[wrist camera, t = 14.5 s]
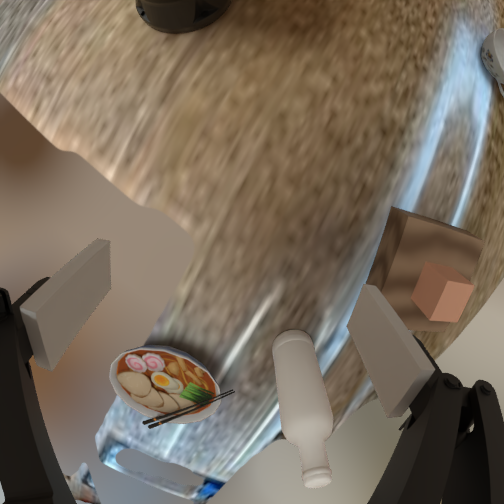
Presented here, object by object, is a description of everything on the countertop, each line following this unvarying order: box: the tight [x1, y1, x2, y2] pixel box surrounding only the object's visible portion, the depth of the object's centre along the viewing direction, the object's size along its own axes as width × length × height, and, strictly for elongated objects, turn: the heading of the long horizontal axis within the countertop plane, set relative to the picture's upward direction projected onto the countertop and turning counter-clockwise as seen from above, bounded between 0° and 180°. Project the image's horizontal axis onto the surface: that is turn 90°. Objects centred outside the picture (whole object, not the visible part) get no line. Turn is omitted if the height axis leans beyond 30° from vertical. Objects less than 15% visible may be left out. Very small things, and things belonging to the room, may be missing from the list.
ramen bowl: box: [109, 345, 235, 429], centre depth 53 cm, size 25×23×8 cm
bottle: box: [272, 330, 333, 488], centre depth 41 cm, size 8×8×30 cm
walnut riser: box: [366, 206, 485, 332], centre depth 47 cm, size 20×20×6 cm
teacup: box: [481, 28, 504, 97], centre depth 30 cm, size 15×12×8 cm
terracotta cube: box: [411, 262, 475, 322], centre depth 41 cm, size 7×7×7 cm
